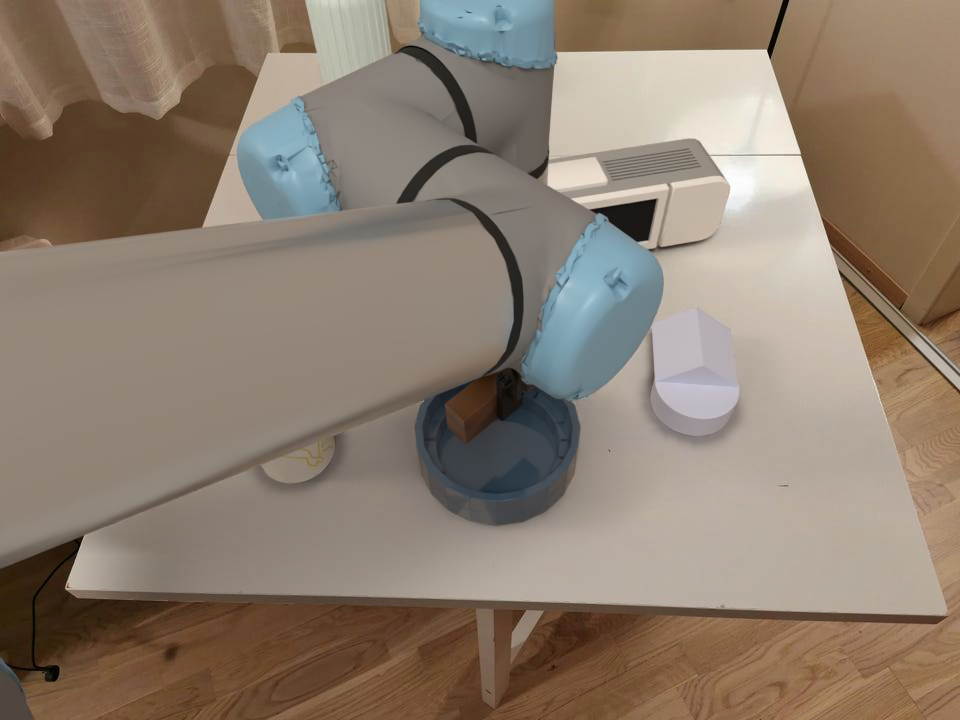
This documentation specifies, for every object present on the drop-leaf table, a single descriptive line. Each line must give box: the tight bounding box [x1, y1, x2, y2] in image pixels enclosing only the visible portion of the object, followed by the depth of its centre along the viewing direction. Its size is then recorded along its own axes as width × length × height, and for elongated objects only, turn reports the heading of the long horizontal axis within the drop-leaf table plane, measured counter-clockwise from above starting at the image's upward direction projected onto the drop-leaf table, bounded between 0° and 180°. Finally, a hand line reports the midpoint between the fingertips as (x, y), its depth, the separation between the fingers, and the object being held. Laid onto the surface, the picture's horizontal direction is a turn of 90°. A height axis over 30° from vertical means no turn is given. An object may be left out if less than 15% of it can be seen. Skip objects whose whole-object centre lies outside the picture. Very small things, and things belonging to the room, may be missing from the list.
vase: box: [304, 0, 393, 86], centre depth 109 cm, size 12×12×22 cm
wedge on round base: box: [649, 306, 740, 437], centre depth 78 cm, size 9×7×13 cm
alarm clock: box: [548, 137, 731, 250], centre depth 92 cm, size 27×9×12 cm, turn 102°
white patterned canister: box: [260, 436, 336, 484], centre depth 73 cm, size 8×8×12 cm
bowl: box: [414, 381, 581, 527], centre depth 74 cm, size 17×17×6 cm
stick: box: [445, 370, 536, 444], centre depth 67 cm, size 11×3×4 cm, turn 134°
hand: (497, 400), depth 68 cm, fingers closed on stick, 3 cm apart
